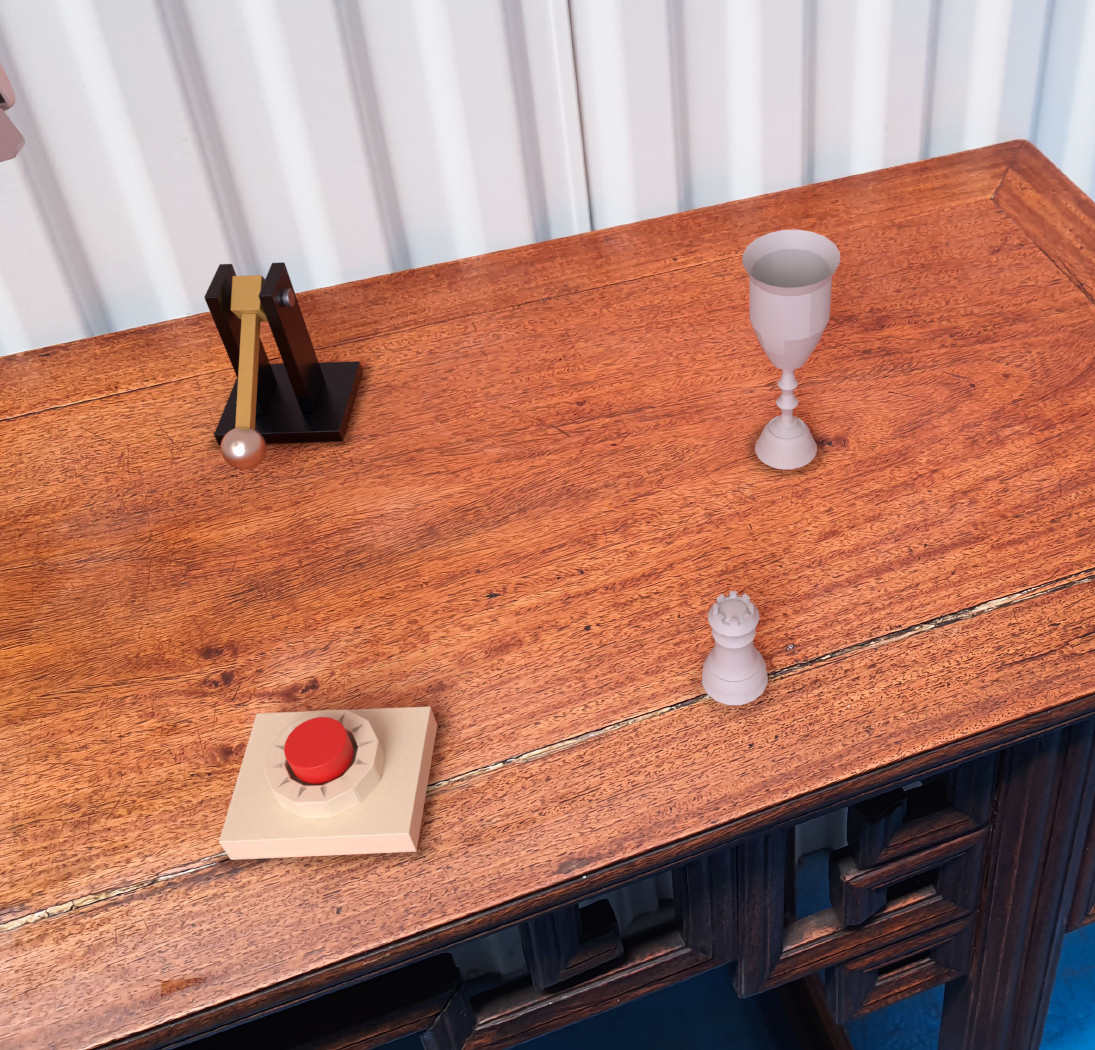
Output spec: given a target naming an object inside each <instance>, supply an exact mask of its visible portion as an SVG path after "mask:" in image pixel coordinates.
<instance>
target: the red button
mask: <svg viewBox="0 0 1095 1050" xmlns="http://www.w3.org/2000/svg"><path fill="white" fill-rule="evenodd" d="M284 754H285V757H286V759H287V761H288V763H289V765H290V766H291V768H292V770H293V772H294V774H295V775H296V777H297V778H299V779H300V780H302V781H304V782H306V783H311V784H321V783H326V782H329V781H331V780H333V779H335V778H337V777H338V776H340V775H341V774H342V773H343V772H344V771H345V770H346V769H347V768H348V767H349V765H350V763H351V761H352V758H353V754H354V749H353V745H352V743H351V741H350V738H349V736H348V734H347V732H346V729H345V728H344V726H343V725H342V724H341V723H340V722H339V721H337V720H335V719H332V718H328V717H318V718H313V719H310V720H307V721H305V722H303V723H301V724H300V725H298V726H297V727H296V728H295V729H294V730H293V731H292V732H291V733H290V734H289V736H288V738H287V740H286V742H285V746H284Z"/></svg>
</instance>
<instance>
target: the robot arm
mask: <svg viewBox="0 0 1095 1050" xmlns="http://www.w3.org/2000/svg"><path fill="white" fill-rule="evenodd" d="M15 103H16V94H15V91H14V88H13V86H12V84H11V81H10V79H9V77H8V75H7V73H6V71H5V69H4V67H3V65H2V64H1V62H0V163H1V162H6V161H10V160H13V159H15V158H16V157H17V156H18V154H19V153H20V152H21V151H22V150H23V148H24V147H25V145H26V139H25V137H24V136H23V134H22V133H21V132H20V131H19V129H18V128H17V126H16V125H15V124H14V123H13V121H12V120H11V118H10V117H9V116H8V115H7V113H6V111H8V110H9V109H11V108H13V106H14V105H15Z"/></svg>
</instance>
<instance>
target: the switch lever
mask: <svg viewBox="0 0 1095 1050" xmlns="http://www.w3.org/2000/svg"><path fill="white" fill-rule="evenodd" d="M265 279H266V278H265V277H264V276H263V275H260V274H258V275H257V274H255V275H236V276H233V279H232V296H231V311H232V312H233V313H234V314H235V315H236V316H237V317H238V318H240V319H241V337H240V355H239V372H238V390H237V407H236V425H235V429H233V430H231V431H229V432H228V433H227V434H226V435H225V436H224V438H223V439H222V442H221V445H220V453H221V457H222V458H223V460H224V462H225V463H227V464H228V466H230V467H232V468H234V469H237V470H240V471H241V470H243V471H247V470H252V469H255V468H257V467H259V466H260V465H261V464H262V463H263V462H264V461H265V459H266V457H267V454H268V444H266V441H265V439H264V437H263V436H262V435H261V434H260V433H259V432H258V431H256V430H255V416H256V397H257V379H258V360H259V341H260V339H261V323H263V322H268V320H267V318H266V315H265V312H264V310H263V307H262V304H261V301H260V299H259V293H260V291H261V288H262V286H263V283H264V281H265Z"/></svg>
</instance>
